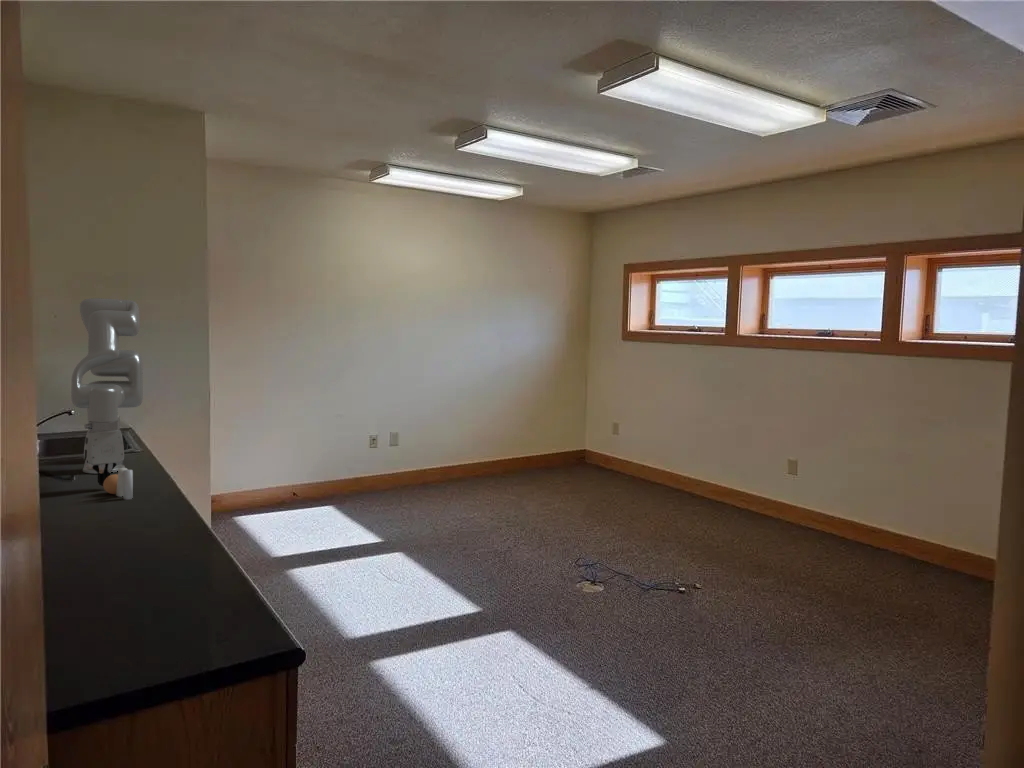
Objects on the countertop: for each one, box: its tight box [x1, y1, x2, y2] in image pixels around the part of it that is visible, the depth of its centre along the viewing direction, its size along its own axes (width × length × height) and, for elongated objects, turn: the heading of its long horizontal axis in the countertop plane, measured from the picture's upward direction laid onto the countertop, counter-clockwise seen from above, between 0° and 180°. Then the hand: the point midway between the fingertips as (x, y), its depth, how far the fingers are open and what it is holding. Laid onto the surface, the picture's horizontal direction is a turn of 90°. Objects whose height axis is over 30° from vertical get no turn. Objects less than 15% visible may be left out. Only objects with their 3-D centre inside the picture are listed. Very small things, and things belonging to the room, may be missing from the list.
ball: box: [102, 473, 118, 495], centre depth 203 cm, size 6×6×6 cm
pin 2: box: [123, 469, 134, 501], centre depth 198 cm, size 2×2×8 cm
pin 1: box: [115, 467, 129, 498], centre depth 200 cm, size 2×2×8 cm
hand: (103, 484), depth 207 cm, fingers closed
